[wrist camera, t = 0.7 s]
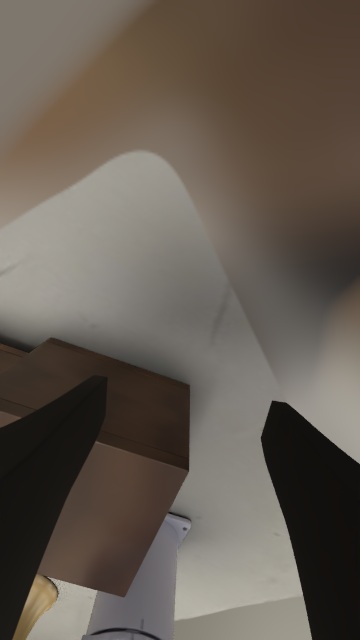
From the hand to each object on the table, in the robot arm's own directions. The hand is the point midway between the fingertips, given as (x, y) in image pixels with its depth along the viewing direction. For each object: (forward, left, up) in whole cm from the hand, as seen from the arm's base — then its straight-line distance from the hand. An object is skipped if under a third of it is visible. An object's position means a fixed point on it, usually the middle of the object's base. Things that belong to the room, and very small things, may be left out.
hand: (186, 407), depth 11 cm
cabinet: (-12, +4, -10) cm, 16 cm away
